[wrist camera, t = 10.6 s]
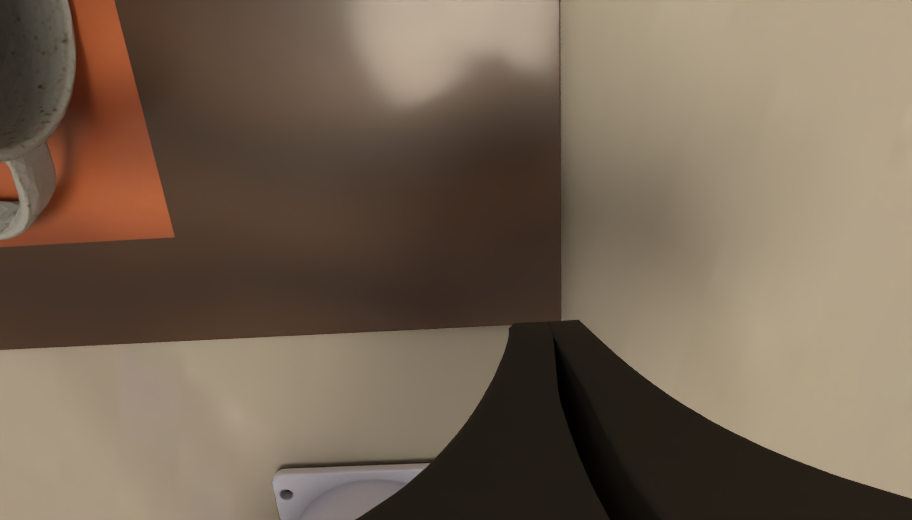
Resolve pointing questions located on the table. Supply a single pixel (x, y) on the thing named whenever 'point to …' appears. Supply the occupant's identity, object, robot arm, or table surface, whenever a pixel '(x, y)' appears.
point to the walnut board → (295, 173)
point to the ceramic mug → (32, 101)
